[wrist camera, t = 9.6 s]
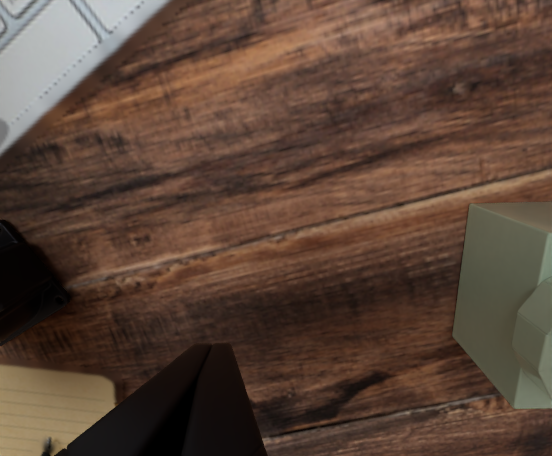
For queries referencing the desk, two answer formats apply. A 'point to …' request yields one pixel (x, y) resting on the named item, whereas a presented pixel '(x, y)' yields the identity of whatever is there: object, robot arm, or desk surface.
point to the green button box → (508, 299)
